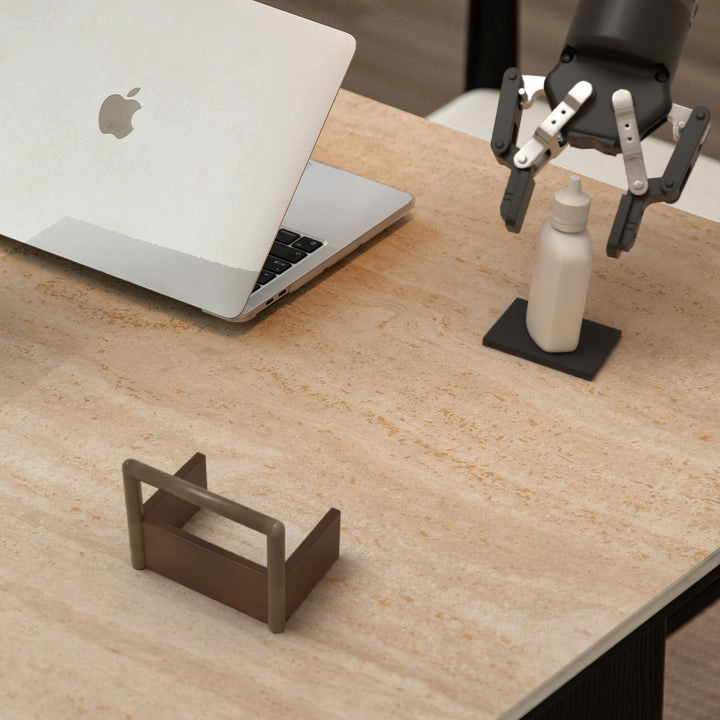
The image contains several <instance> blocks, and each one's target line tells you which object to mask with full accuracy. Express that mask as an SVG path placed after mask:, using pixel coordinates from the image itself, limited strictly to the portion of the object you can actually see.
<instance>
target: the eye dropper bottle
mask: <svg viewBox="0 0 720 720" xmlns="http://www.w3.org/2000/svg"><path fill="white" fill-rule="evenodd" d="M581 177H582V176H579V175H576V174H572V175H570V176H569V178H568V181H567V184H566V186H565V188H561V189H558V190H556V191H555V192H554V193H553V196H552V203H551V209H550V216H548V217H546V218H545V219H544V220H543V221H542V222H541V223H540V225H539V228H538V231H537V237H536V245H535V251H534V257H533V265H532V272H531V278H530V285H529V294H528V307H527V315H526V324H527V329H528V332H529V334H530V336H531V338H532V339H533V341H534V342H535V343H536V344H537V345H538V346H539V347H540V348H541V349H542V350H544V351H546V352H571V351H574V350H575V349H576V347H577V345H578V341H579V335H580V329H581V324H582V318H584V312H585V305H586V299H587V295H588V288H589V282H590V276H591V269H592V263H593V256H594V244H593V239H592V236H591V233H590V231H589V229H588V223H589V222H588V221H589V216H590V211H591V210H590V209H591V203H592V197H591V196H590V194H588V193H587V192H586V191H584V190H582V178H581Z"/></svg>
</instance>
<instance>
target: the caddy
mask: <svg viewBox="0 0 720 720" xmlns="http://www.w3.org/2000/svg"><path fill="white" fill-rule="evenodd" d="M207 472H208V471H207V455H206V454H204V453H202V452H199V451H196V452H195V454H193V455H192V457H190V458H189V459H188V460H187V461H186V462H185V463H183V465H182V466H181V467H180V468H179V469H177V471H175V473H174V474H170V473H168V472H166V471H163V470H161V469H159V468H157V467H154V466H151V465H149V464H147V463H144V462H143V461H142V462H141V461H140V460H137V459H136V458H126V459H125V460H124V461H123V462H122V464H121V473H122V483H123V495H124V502H125V503H124V504H125V511H126V522H127V531H128V540H129V550H130V560H131V566H132V567H133V568H134V569H136V570H143V569H145V568H146V569H149V570H151V571H152V572H155V573H157V574H160V575H162V576H164V577H166V578H168V579H170V580H172V581H174V582H177V583H179V584H181V585H183V586H185V587H187V588H190V589H192V590H194V591H196V592H199V593H201V594H203V595H205V596H207V597H209V598H211V599H213V600H215V601H218V602H220V603H222V604H224V605H226V606H229V607H231V608H233V609H235V610H237V611H240V612H242V613H244V614H246V615H248V616H250V617H252V618H254V619H257V620H259V621H261V622H262V623H263V622H264V623H265V624H267V628H268V629H269V631H270V632H273V633H276V634H277V633H281V632H283V631H284V629H285V628H286V623H287V622H288V621H289V619H290V618H291V617H292V616H293V615H294V613H295V612H296V611H297V610H298V608H299V607H300V606H301V605H302V603H303V602H304V601H305V600H306V598H307V597H308V596H309V595H310V594H311V592H312V591H313V590H314V589H315V587H316V586H317V585H318V584H319V582H320V581H321V580H322V579H323V578H324V576H325V575H326V574H327V573H328V571H329V570H330V569H331V567H332V566H333V565H334V564H335V562H336V561H337V560H338V559H339V557H340V548H341V547H340V545H341V544H340V543H341V522H342V521H341V517H342V510H340V509H339V508H335V507H333V506H332V507H330V509H329V510H328V511H327V512H326V513H325V514H324V516H323V517H322V518H321V519H320V520H319V521H318V523H317V524H316V525H315V526H314V527H313V528H312V530H311V531H310V532H309V533H308V535H306V537H304V539H303V540H302V542H300V544H299V545H298V546H297V548H295V550H294V551H293V552H292V553H291V554H290V556H289V557H288V558H287V559H286V526H285V524H284V523H283V522H282V521H281V520H279V519H277V518H274V517H271V516H269V515H267V514H265V513H263V512H260V511H258V510H255V509H253V508H250V507H248V506H246V505H243V504H241V503H239V502H236V501H235V500H232V499H229V498H227V497H226V496H225V497H224V496H222V495H220V494H217V493H216V492H213V491H210V490H208V475H207V474H208V473H207ZM142 483H143V484H146V485H148V486H150V487H153V488H156V489H157V490H156V491H155V492H154V493H152V495H151V496H150V497H148V499H147V500H146V501H144V500H143V499H144V498H143V488H142ZM201 508H202V509H204V510H207V511H209V512H211V513H213V514H216V515H218V516H221V517H223V518H225V519H228V520H230V521H232V522H234V523H236V524H239V525H241V526H243V527H246V528H249V529H251V530H252V531H256V532H258V533H260V534H262V535H265V536H266V566H264V565H263V564H260V563H257V562H255V561H253V560H251V559H249V558H247V557H245V556H241V555H240V554H238V553H235V552H233V551H230V550H229V549H226V548H224V547H221V546H219V545H217V544H214V543H213V542H210V541H208V540H206V539H203V538H201V537H199V536H197V535H194V534H192V533H190V532H187V531H185V530H183V529H181V528H183V527H184V525H185V524H186V523H187V522H188V521H189V520H190V519H191V518H193V516H194V515H195V514H196V513H197V512H198V511H199V510H200V509H201Z"/></svg>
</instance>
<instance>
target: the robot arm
mask: <svg viewBox="0 0 720 720" xmlns="http://www.w3.org/2000/svg"><path fill="white" fill-rule="evenodd" d="M698 9H699V0H577V2H576V6H575V8H574V11H573V15H572V17H571V20H570V23H569V27H568V30H567V33H566V36H565V39H564V42H563V45H562V49H561V52H560V54H559V58H558V60H557V62H556V64H555V66H554V67H553V68H552V69H551V70H550V71H549V72H548V73H547V74H546V76H541V75H530V74H528V75H527V74H522V71H521V70H520V69H519V68H517V67H509V68H507V69H506V70H505V71H504V73H503V77H502V81H501V86H500V92H499V97H498V103H497V107H496V113H495V118H494V123H493V128H492V133H491V139H490V149H491V152H492V153H493V156H494V158H495V160H496V162H497V163H498V164H499V165H501V166H504V167H506V168H507V169H508V170H510V174H509V177H508V180H507V184H506V187H505V189H504V193H503V196H502V199H501V202H500V205H499V212H500V217H501V219H502V221H503V222H504V226H505V228H506V230H507V231H508V233H512V234H517V235H519V234H520V233H521V232H522V228H523V225H524V222H525V218H526V216H527V212H528V209H529V206H530V202H531V199H532V197H533V193H534V190H535V187H536V184H537V183H536V181H535V179H534V178H536V176H537V175H538V174H539V173H540V172H541V171H542V170H543V169H544V168H545V167H546V166H547V165H548V163H549V162H551V161H552V160H554V159H557V158H558V157H559V156H560V154H561V153H563V151H564V150H565V149H566V148H567V147H568V146H569V147H570V148H575V149H578V150H595V151H597V152H599V153H601V154H603V155H605V156H610V157H615V158H617V155H622V160H623V164H624V169H625V175H626V180H627V186H628V188H627V191H626V194H624V193H622V194H621V197H620V200H619V204H618V207H617V210H616V213H615V216H614V220H613V222H612V226H611V230H610V232H609V236H608V239H607V242H606V246H605V253H606V256H607V257H608V258H612V259H616V260H619V259H620V256H621V253H622V252H625V253H629V252H630V251H631V250H632V249H633V247H634V246H635V242H636V239H637V236H638V234H639V230H640V226H641V224H642V221H643V216H644V214H645V211H646V210H647V208H648V207H650V205H653V204H658V203H664V204H666V205H674V204H676V203H677V202H679V200H680V199H681V197H682V194H683V193H684V189H685V187H686V186H687V183H688V181H689V179H690V177H691V175H692V172H693V170H694V168H695V165H696V163H697V161H698V159H699V157H700V155H701V152H702V151H703V148H704V146H705V143H706V141H707V139H708V137H709V135H710V133H711V122H712V120H711V111H710V109H709V108H708V107H706V106H703V105H700V106H696V107H695V108H690V107H687V106H684V105H681V104H678V103H675V102H673V96H672V94H671V93H672V88H673V84H674V81H675V78H676V74H677V72H678V71H677V70H678V69H679V68H678V67H679V65H680V61H681V58H682V56H683V52H684V49H685V45H686V42H687V39H688V35H689V32H690V30H691V26H692V23H693V20H695V17H696V15H697V12H698ZM540 96H545V98H546V101H547V103H548V106H549V109H550V111H551V112H550V113H549V114H548V116H546V118H545V119H543V121H542V122H541V123H540V124H539V125H538V126H537V127H536V128H535V131H534V133H533V135H532V136H531V137H530V138H529V139H528V140H527V142H525V143H524V145H523V146H522V147H521V148H520V147H518V146H517V144H518V138H519V134H520V128H521V122H522V117H523V111H524V110H530V109H531V108H532V107H533V106H534V104H535V101H536V99H538V97H540ZM667 122H670V123H671V124H672V138H673V140H674V141H675V142H676V145H675V146H674V149H673V152H672V153H671V155H670V158H669V160H668V162H667V165H666V167H665V169H664V171H663V173H662V175H661V176H658V177H648V174H647V170H646V165H645V160H644V153H643V149H642V144H641V143H642V142H643V141H644V140H646V139H647V138H648V137H649V136H651V135H652V134H653V133H655V132H656V131H657V130H659V129H660V128H661V127H662V126H664V125H665V124H667Z"/></svg>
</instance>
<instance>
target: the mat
mask: <svg viewBox="0 0 720 720" xmlns="http://www.w3.org/2000/svg"><path fill="white" fill-rule="evenodd" d="M528 300H529V299H528ZM528 300H527V299H524V298H522V297H516V298H515V299H514V300H513V301H512V302H511V304H510V305H509V306H508V307H507V308H506V309H505V311H504V312H503V313H502V314H501V315H500V317H499V318H497V320H496V321H495V323H494V324H493V325H492V326H491V327H490V329H489V330H488V331H487V332H486V333H485V334H484V335H483V337H482V342H481V343H482V344H481V345H483V346H486V347H489V348H492V349H494V350H498V351H501V352H504V353H507V354H509V355H513V356H516V357H519V358H521V359H524V360H528V361H530V362H533V363H536V364H540V365H541V366H545V367H548V368H551V369H554V370H557V371H560V372H563V373H565V374H569V375H572V376H575V377H578V378H580V379H583V380H587V381H590V382H591V381H592V380H593V379H594V377H595V376H596V374H597V373H598V372H599V370H600V368H601V367H602V365H604V363H605V361H606V360H607V358H608V357H609V355H610V354H611V353H612V351H613V349H614V348H615V346H616V345H617V343H618V342H619V341H620V339H621V338H622V333H623V330H622V329H618V328H617V327H616V328H615V327H613V326H609V325H606V324H603V323H600V322H596V321H594V320H590V319H587V318H584V317H583V318H582V324H581V329H580V335H579V341H578V345H577V347H576V349H575V350H574V351H571V352H546V351H544V350H542V349H541V348H540V347H539V346H538V345H537V344H536V343H535V342H534V341H533V339H532V338H531V336H530V334H529V332H528V329H527V324H526V315H527V307H528Z"/></svg>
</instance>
